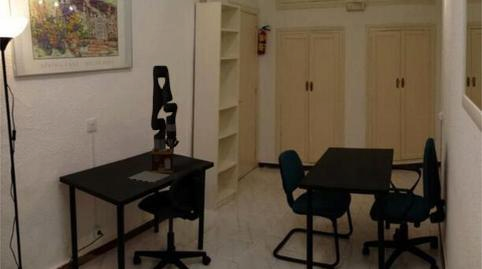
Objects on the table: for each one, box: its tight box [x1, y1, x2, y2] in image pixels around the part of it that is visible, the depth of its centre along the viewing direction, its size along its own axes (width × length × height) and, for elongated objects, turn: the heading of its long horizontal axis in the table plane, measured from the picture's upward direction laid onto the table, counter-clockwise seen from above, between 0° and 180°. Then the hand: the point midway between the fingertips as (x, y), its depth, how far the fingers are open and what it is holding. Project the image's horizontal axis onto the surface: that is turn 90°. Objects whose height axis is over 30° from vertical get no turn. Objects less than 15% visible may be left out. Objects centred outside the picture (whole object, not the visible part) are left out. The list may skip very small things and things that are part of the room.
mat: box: [128, 170, 171, 183], centre depth 336 cm, size 22×19×1 cm
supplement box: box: [150, 148, 175, 174], centre depth 348 cm, size 10×15×16 cm
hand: (171, 152), depth 357 cm, fingers closed
